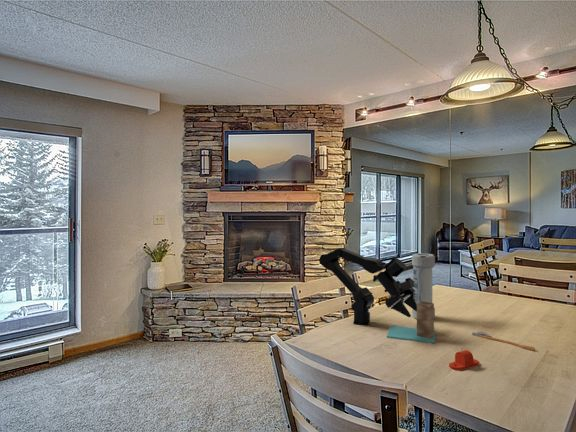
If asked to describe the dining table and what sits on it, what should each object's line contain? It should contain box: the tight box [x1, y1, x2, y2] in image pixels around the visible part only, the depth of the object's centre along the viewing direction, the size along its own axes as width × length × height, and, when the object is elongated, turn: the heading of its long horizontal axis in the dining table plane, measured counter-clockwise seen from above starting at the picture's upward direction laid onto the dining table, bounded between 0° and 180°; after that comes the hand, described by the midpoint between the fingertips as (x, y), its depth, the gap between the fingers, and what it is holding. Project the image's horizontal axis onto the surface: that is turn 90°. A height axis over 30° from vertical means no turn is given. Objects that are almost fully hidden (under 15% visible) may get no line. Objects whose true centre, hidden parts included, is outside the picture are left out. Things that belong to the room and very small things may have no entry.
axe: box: [471, 331, 536, 352], centre depth 139 cm, size 22×6×2 cm, turn 38°
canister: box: [411, 252, 436, 320], centre depth 169 cm, size 10×10×30 cm
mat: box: [386, 325, 436, 344], centre depth 147 cm, size 18×14×1 cm
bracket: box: [448, 349, 480, 371], centre depth 118 cm, size 12×4×5 cm, turn 114°
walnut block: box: [416, 301, 435, 339], centre depth 144 cm, size 5×5×13 cm
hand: (414, 314), depth 147 cm, fingers open, 9 cm apart
